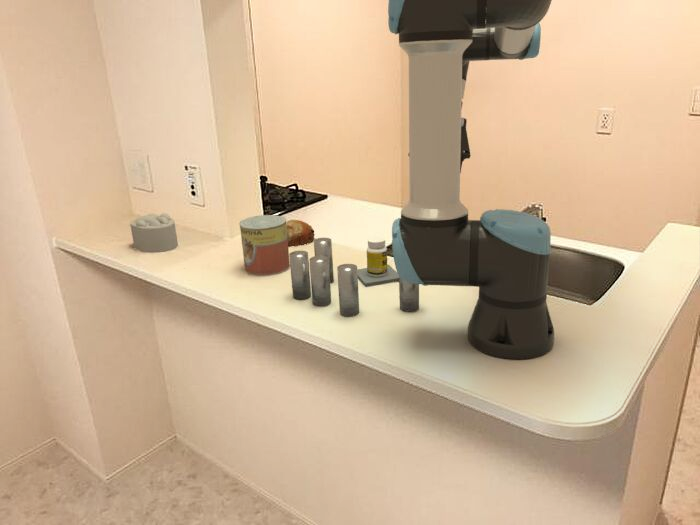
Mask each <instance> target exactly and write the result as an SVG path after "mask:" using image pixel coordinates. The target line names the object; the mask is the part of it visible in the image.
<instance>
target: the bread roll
mask: <svg viewBox="0 0 700 525" xmlns="http://www.w3.org/2000/svg"><path fill="white" fill-rule="evenodd" d="M286 229H287V240H288V247H290V246H294V247H299V246H298V245H301V246H305V245H304V244H306V245H308V244H307V243H309V244H311V243H312V242H314V240H315V230H314V228H313V227H312V225H310V224H309V223H307V222H305V221H303V220H299V219H290V220H286ZM310 242H311V243H310Z"/></svg>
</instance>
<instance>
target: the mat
mask: <svg viewBox="0 0 700 525" xmlns="http://www.w3.org/2000/svg"><path fill="white" fill-rule="evenodd" d="M357 272H358V281H359V282H360V283H361V284H362V285H363V286H364V287H365V288H366V287H367V288H368V287H374V286H379V285H384V284H385V285H386V284H390V283H395V282H399V275H398V273H397V270H396V269H394V268H393V267H392V265H390V264H387V274H386V275H385V276H381V277H372V276H369V275H368V273H367V267H365V268H364V267H363V268H357Z"/></svg>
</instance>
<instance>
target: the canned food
mask: <svg viewBox="0 0 700 525" xmlns="http://www.w3.org/2000/svg"><path fill="white" fill-rule="evenodd" d="M286 222H287V219H286V218H285V217H284V216H281V215H277V214H276V215H275V214H273V215H272V214H262V215H255V216H251V217H247V218H245V219H242V220H241V221H240V222H239V224H238V225H239V230H240V238H241V248H242V255H243V263H244V271H245V273H246V274H248V275H251V276H254V277H255V276H256V277H266V276H267V277H269V276H275V275H279V274H282V273H285V272H286V271H288V270H289V269H291V268H290V257H289V254H290V253H289V246H288V240H287V229H286Z"/></svg>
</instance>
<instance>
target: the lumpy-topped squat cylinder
mask: <svg viewBox="0 0 700 525" xmlns="http://www.w3.org/2000/svg"><path fill="white" fill-rule="evenodd" d="M175 224H176V223H175V219H174V218H171V217H170V215H169V214H168V213H161V214H159V215H158V214H155V213H149V214H146V215H142V216H138V217H136V219H135V220H132V221H131V222H130V224H129V226H130V231H131V237H132V242H133V247H134V249H136V250H137V251H140V252H143V253H153V254H155V253H156V254H157V253H166V252H171V251H173V250H175V249H177V247H178V246H179V241H178V236H177V229H176V225H175Z"/></svg>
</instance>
